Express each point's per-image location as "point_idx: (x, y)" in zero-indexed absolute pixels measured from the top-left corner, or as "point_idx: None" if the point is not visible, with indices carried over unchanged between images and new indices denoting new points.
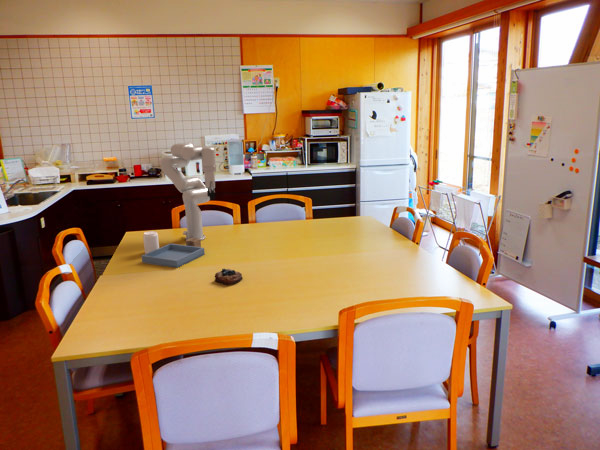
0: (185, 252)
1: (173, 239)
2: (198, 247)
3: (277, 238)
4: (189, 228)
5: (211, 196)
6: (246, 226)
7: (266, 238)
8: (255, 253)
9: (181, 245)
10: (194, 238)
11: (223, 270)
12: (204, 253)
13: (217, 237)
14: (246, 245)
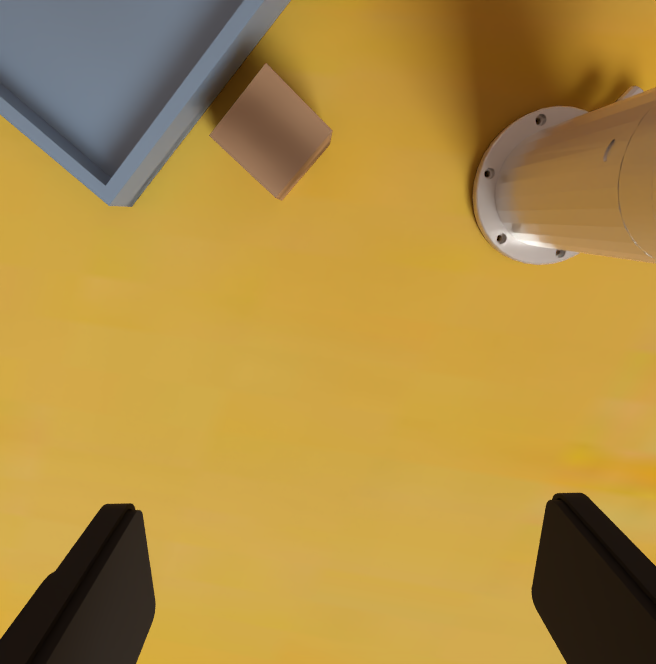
0: (175, 66)
1: (613, 8)
2: (130, 164)
3: (320, 626)
4: (567, 127)
5: (23, 614)
6: (647, 534)
7: (343, 582)
8: (80, 487)
9: (228, 25)
10: (307, 150)
11: None
12: (127, 205)
13: (495, 340)
14: (248, 470)
